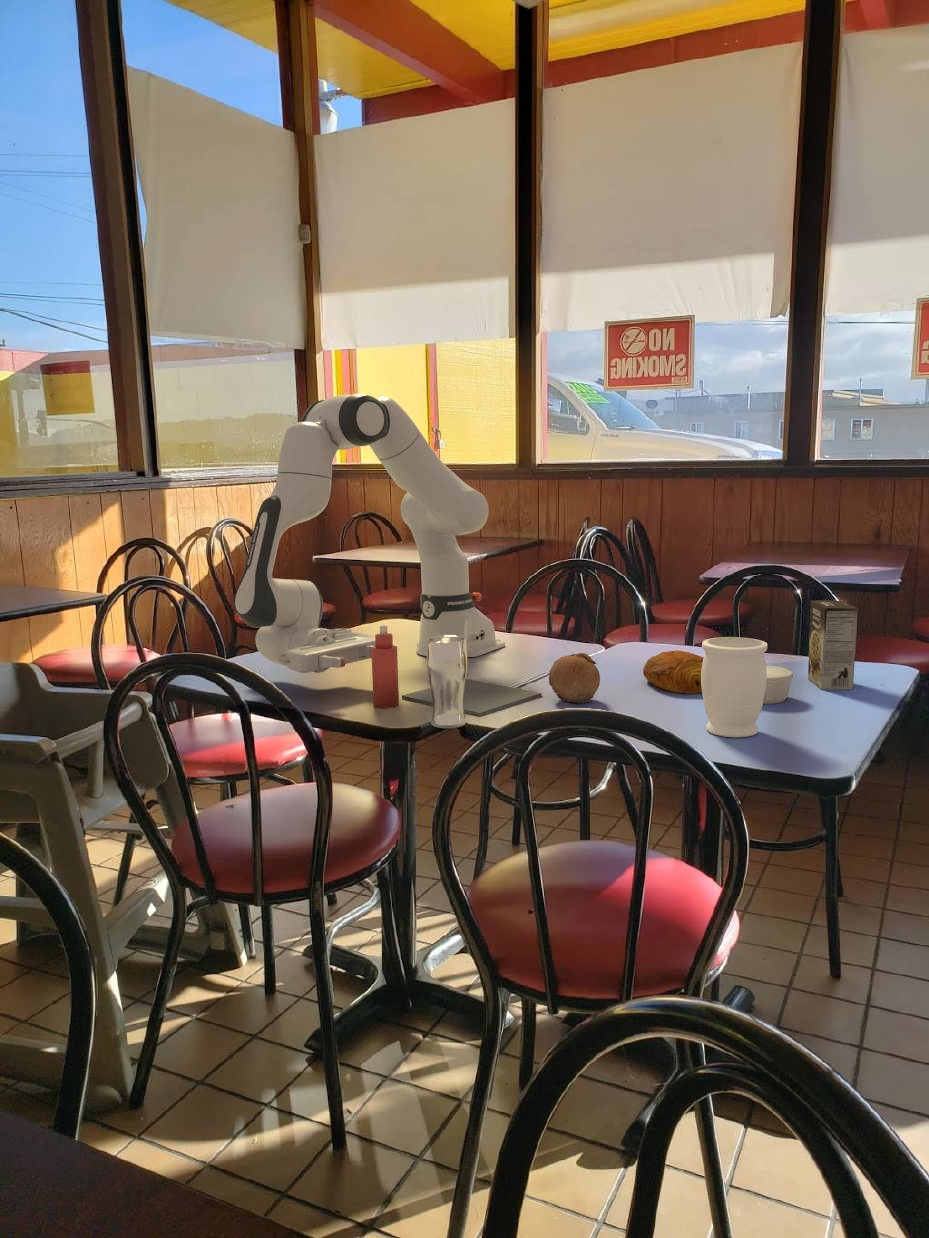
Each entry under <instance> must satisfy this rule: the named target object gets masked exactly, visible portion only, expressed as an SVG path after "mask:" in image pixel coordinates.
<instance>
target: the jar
mask: <svg viewBox="0 0 929 1238" xmlns="http://www.w3.org/2000/svg"><path fill="white" fill-rule="evenodd" d="M701 643H702V644H701V648H702V649H703V650H704V656H703V657H704V658H703V663H702V670H701V687H702V692H701V694H702V700H703V707H704V710H705V714H706V716H707V718H708V719H709V720H708V723H706V727H705V728H706V731H707V732H709V733H711V734H713V735H716V736H720V737H724V738H725V737H726V738H749V737H752V736H755V735H756V734H757V733H758V732H759V728H758V726H757V723H756V722H757V721H758V719H759V717H760V715H761V712H762V708H763V705H764V704H763V698H764V694H765V690H766V681H767V672H766V665H767V663H766V659H765V655H764V653H765V652H767V651H768V643H767V642H766V641H764V640H760V639H755V638H751V637H750V638H749V637H740V636H739V637H738V636H737V637H736V636H725V637H724V636H721V637H720V636H719V637H713V638H711V637H710V638H707V639H704V640H702V642H701Z"/></svg>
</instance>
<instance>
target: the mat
mask: <svg viewBox="0 0 929 1238" xmlns="http://www.w3.org/2000/svg"><path fill="white" fill-rule="evenodd" d="M542 694H543V692H538V691H533V690H527V689H524V688H523V689H522V688H517V687H512V686H507V685H502V684H496V683H491V682H486V681H481V680H476V679H471V678H466V685H465V691H464V699H463V706H464V713H465V714H469V715H473V714H474V716H477V715H479V716H478V717H481V716H483V714H484V715H487V714H490V713H489V712H491V713H493V712H496V711H499V710H502V709H505V708H509V707H513V706H515V705H518V704H521V703H520V702H522V703H524V702H528V701H530V699H531V700H533V698H534V699H537V698H540V697H542ZM401 699H402V700H405V701H406V700H407V701H412V702H415V703H420V704H425V705H429V706H433V699H432V693H431V688H430V687H428V688H424V689H421V690H418V691H413V692H411V693H406V694H403V695H401ZM486 713H487V714H486ZM480 715H481V716H480Z"/></svg>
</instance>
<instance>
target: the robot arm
mask: <svg viewBox="0 0 929 1238" xmlns="http://www.w3.org/2000/svg"><path fill="white" fill-rule="evenodd" d="M300 419H301V420H300V421H299V422H295V423H293V424H291V425H290V426H289V427H288V428H287V429H286V430H285V433H284V436H283V440H282V443H281V448H280V453H279V458H278V465H277V466H278V467H277V474H276V481H275V485H274V488H273V490H272V492H271V494H270V495H269V497H267V498H266V499H263V501H262V503H261V504H260V507H259V509H258V512H257V516H256V519H255V523H254V526H253V531H252V535H251V539H250V543H249V547H248V552H247V556H246V560H245V561H246V562H245V563H244V564H245V565H244V569H243V573H242V576H241V579H240V581H239V583H238V586H237V587H236V591H235V594H234V600H233V601H234V602H233V603H234V609H235V612H236V613H237V615H238V617H239V618H240V619H241V620H242V621H243V622H244V624H246V626H249V628H259V629H258V630H257V632H256V634H255V645H256V649H257V651H258V652H259V654H260V655H261V656H262V657H263V658H264V659H266V660H268V661H269V662H272V663H275V664H276V665H277V664H278V665H281V666H284V667H287V669H289V670H292V671H294V672H298V673H302V674H305V673H307V674H308V673H311V672H312V673H316V674H318V673H319V674H320V673H324V672H326V671H327V670H329V669H330V668H336V669H341V668H344V667H345V666H346V665H347V664H351V663H352V664H353V663H356V662H361V661H365V660H368V659H371V660H372V654H371V648H372V647H373V646H376V645H375V635H374V636H373V635H371V634H370V635H369V634H365V633H360V632H352V629H350V628H331V629H328V628H325V627H324V628H323V627H320V626H321V621H322V618H323V614H324V613H323V612H324V601H323V595H322V594H321V591H320V590H319V588H318V587H317V585H316V584H315V583H314V582H313V581H311V580H305V579H304V580H303V579H285V578H274V577H273V570H274V565H275V562H276V557H277V552H278V550H279V549H278V548H279V545H280V540H281V538H282V536H283V535H284V533H285V532H286V531H287V530H288V529H290V528H291V527H293V526H295V525H297V524H300V523H304V522H307V521H310V520H312V519H314V518H316V517H318V515H320V514H321V513H323V512H324V510H325V509H326V507H327V506H328V504H329V501H330V497H331V491H332V479H333V462H334V459H335V456H336V454H337V452H338V451H339V450H340V451H341V450H342V451H344V450H349V449H354V448H357V447H365V446H366V447H367V446H369V447H370V449H371V450H372V451H373V453H374V455H375V456H376V457H377V459H378V460H379V462H380V464H381V465H382V466H383V468H384V469H385V470H386V472H387V474H388V475H389V476H390V478H391V479H392V480H393V482H394V483H395V484H396V486H398V487H399V488H400V489H401V490H403V491H405V492H406V493H405V494H404V496H403V498H402V500H401V501H400V502H401V503H400V508H399V509H400V515H401V518H402V520H403V522H404V523H405V525H407V527H408V528H409V530H410V531H411V535H412V536H413V539H414V542H415V545H416V548H417V552H418V556H419V561H420V562H419V563H420V574H421V575H420V576H421V577H420V578H421V579H420V580H421V593H420V597H419V602H420V603H419V605H420V606H419V608H420V609H421V615H420V622H419V623H420V625H419V635H418V636H419V637H418V643H417V645H416V649H417V650H416V654H418V655H420V656H425V657H427V645H428V639H429V638H431V637H436V636H461V637H464V638H465V639H466V649H467V658H474V657H475V658H477V657H479V656H482V655H484V654H487V653H490V652H493V651H495V650H498V649H500V648H503V647H506V642H505V641H504V640H501V639H497V638H496V632H495V631H496V630H495V625H494V623H493V621H492V620H491V619H490V618H488V617H487V616H486V615H484V613H482V612H481V611H480V610H479V609H477V608H476V607H475V606H476V605H475V602H474V601H476V602H480V601H481V600H482V598H483V596H482V593H481V592H476V591H475V592H474V591H473V592H472V593H471V592H470V591H469V590H470V580H469V579H470V577H469V575H470V574H469V560H468V557H467V556H466V554H465V553H464V552H463V551H462V549H461V547H460V546H459V543H458V541H457V537H456V536H464V535H469V534H472V533H476V532H478V531H480V530H481V529H483V527H484V526H485V525H486V523H487V520H488V519H489V511H490V510H489V509H490V508H489V503H488V500H487V499H486V497H485V495H484V494H482V492H480V491H479V490H477V489H475V488H473V487H471V486H470V485H468V484H467V483H466V482H464V480H462V479H461V478H460V477H459V476H458V475H457V474H455V472H454V471H452V470H451V469H450V468H449V467H448V466H447V465H446V464H445V463H444V462H443V461H442V460H441V459H440V458H439V457H438V455H437V453H435V451H434V450H433V448H432V447H431V445H430V444H429V443H428V441H427V439H426V438H425V437H424V435H423V434H422V432H421V430H420V429H419V428H418V426H417V425H416V423H415V422H414V420H412V418H411V416H409V415H408V413H407V412H406V411H405V410H404V409H403V408H402V406H401V405H399V404H398V402H397V401H395V400H394V399H393V398H391V397H388V396H379V397H376V398H375V397H374V396H372V395H370V394H369V395H368V394H365V393H353V394H339V395H335V396H333V397H329V398H327V399H321V400H318V401H315V402H313V403H312V404H311V405H309V406H308V407H307V409H306V410H305V411H304V413H303V414H302V416H301V418H300Z"/></svg>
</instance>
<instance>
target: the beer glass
mask: <svg viewBox="0 0 929 1238" xmlns="http://www.w3.org/2000/svg"><path fill="white" fill-rule="evenodd" d="M426 670H427V671H426V672H427V677H428V683H429V688H431V693H432V699H433V705H432V712H431V713H432V714H431V720H430V725H431V726H433V727H434V728H438V729H457V728H461V727H463V726H465V725H466V724H467V719H466V715H465V714H466V713H464V706H463V699H464V691H465V685H466V679H468V678H467V677H468V657H467V649H466V639H465V638H464V637H461V636H436V637H431V638H429V639H428V645H427V656H426Z"/></svg>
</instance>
